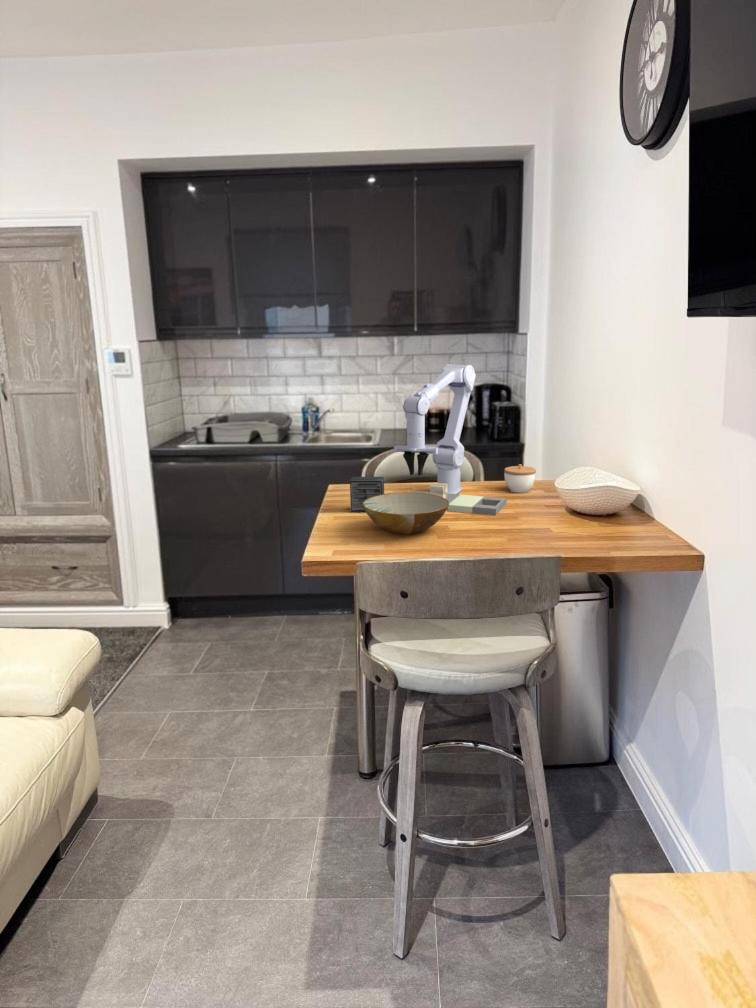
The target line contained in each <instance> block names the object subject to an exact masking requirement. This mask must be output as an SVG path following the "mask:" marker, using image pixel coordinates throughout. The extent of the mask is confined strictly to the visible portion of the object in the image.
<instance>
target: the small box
mask: <svg viewBox="0 0 756 1008" xmlns="http://www.w3.org/2000/svg"><path fill="white" fill-rule="evenodd" d="M349 492H350V493H349V494H350V513H366V511H365V510H364V508H363V506H362V503H363V501H364V500H366V499H368V498H370V497H373V496H377V495H382V494H385V477H384V476H352V477H351V478H350V479H349Z"/></svg>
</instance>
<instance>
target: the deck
mask: <svg viewBox="0 0 756 1008" xmlns="http://www.w3.org/2000/svg"><path fill="white" fill-rule="evenodd" d="M411 493H425V494H430V491H420V490H419V491H418V490H414V491H411ZM446 499H447V500H448V501H449V506H448V508H447V511H446V512H454V511H456V512H455V513H457V512H458V513H468V514H477V513H478V515H488V514H490V516H496V514H497V513H500V511H502V510H503V508H504V507H505V506H506V505H507V497H493V496H483V495H482V496H480V495H470V494H468V495H467V494H459V493H457V494H447V498H446ZM497 515H498V514H497Z"/></svg>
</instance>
